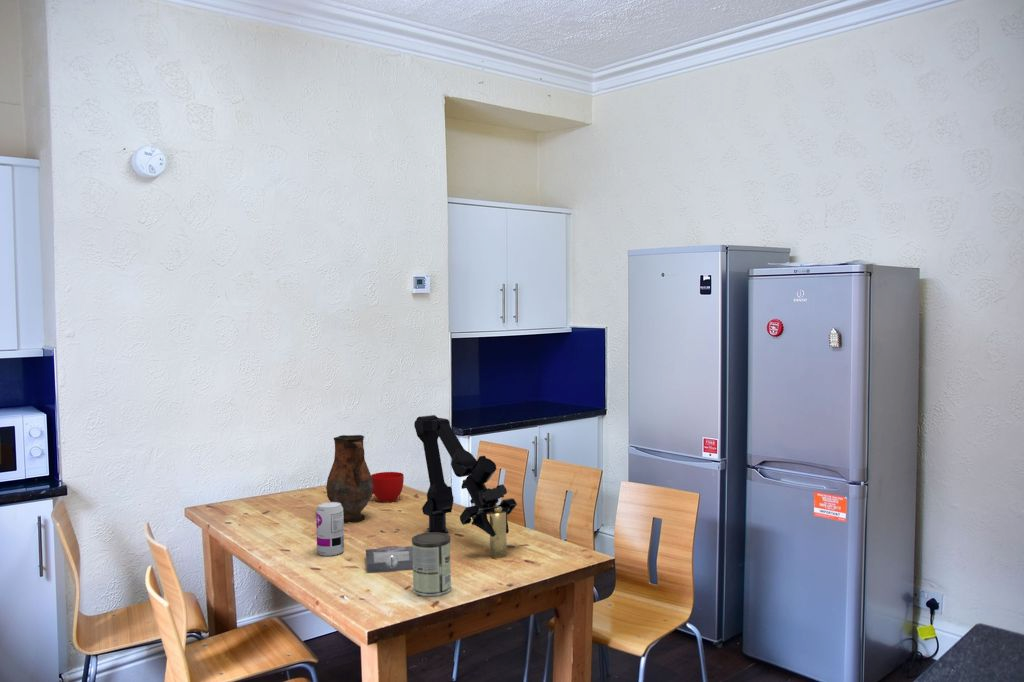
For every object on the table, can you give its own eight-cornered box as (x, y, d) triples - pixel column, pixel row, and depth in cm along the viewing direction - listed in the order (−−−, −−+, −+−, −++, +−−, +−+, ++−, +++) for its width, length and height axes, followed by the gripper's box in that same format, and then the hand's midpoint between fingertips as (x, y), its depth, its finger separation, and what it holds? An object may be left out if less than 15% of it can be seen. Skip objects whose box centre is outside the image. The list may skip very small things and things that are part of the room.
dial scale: (365, 557, 236) (365, 543, 236) (412, 554, 239) (412, 539, 239) (367, 573, 222) (366, 557, 222) (416, 569, 225) (416, 553, 225)
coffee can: (414, 583, 214) (413, 532, 213) (452, 582, 214) (451, 531, 213) (410, 597, 203) (409, 543, 203) (450, 596, 204) (449, 542, 203)
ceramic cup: (359, 498, 312) (358, 473, 312) (401, 495, 317) (400, 470, 317) (362, 506, 300) (362, 480, 299) (406, 502, 305) (406, 477, 304)
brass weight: (488, 553, 240) (488, 505, 239) (504, 551, 241) (504, 504, 240) (491, 557, 235) (491, 509, 234) (507, 556, 236) (507, 508, 235)
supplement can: (317, 557, 237) (316, 508, 236) (316, 549, 245) (315, 502, 244) (344, 555, 239) (343, 506, 239) (343, 547, 247) (342, 500, 247)
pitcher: (363, 510, 293) (362, 431, 292) (385, 523, 275) (383, 438, 274) (320, 517, 284) (318, 435, 283) (339, 530, 266) (338, 443, 265)
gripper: (464, 481, 234) (487, 525, 226) (512, 472, 246) (536, 514, 238) (450, 502, 241) (471, 546, 232) (497, 493, 252) (520, 534, 244)
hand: (500, 534), depth 237 cm, fingers closed on brass weight, 5 cm apart
